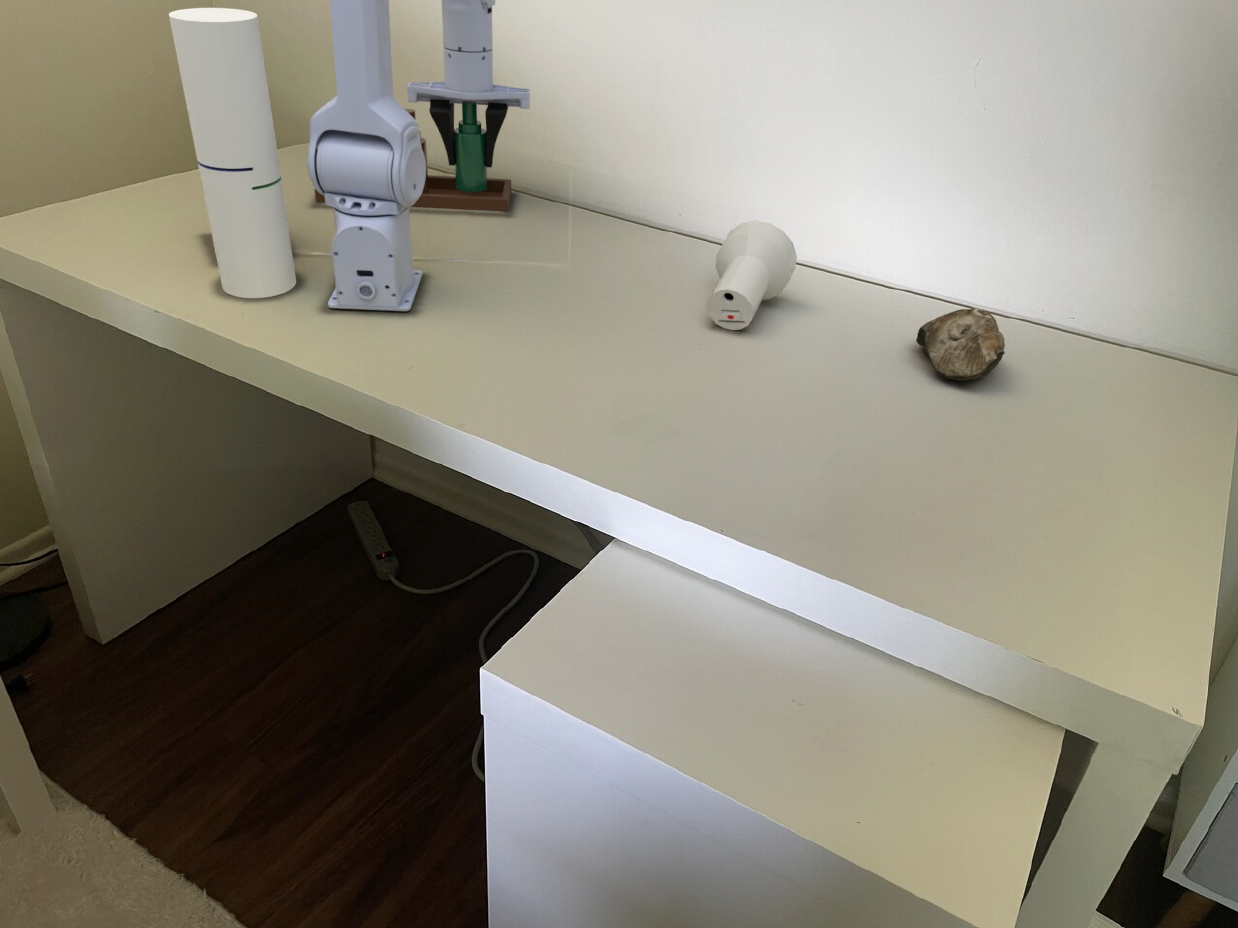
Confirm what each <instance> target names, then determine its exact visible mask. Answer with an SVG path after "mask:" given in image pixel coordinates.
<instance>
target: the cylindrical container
mask: <svg viewBox="0 0 1238 928" xmlns="http://www.w3.org/2000/svg"><path fill="white" fill-rule="evenodd" d="M168 18H169V24H170V28H171V34H172V37H173V38H172V39H173V43H174V50H175V53H176V58H177V64H178V69H179V75H180V81H181V84H182V89H183V90H182V91H183V94H184V100H185V104H186V109H187V114H188V115H187V116H188V120H189V126H190V131H191V135H192V140H193V146H194V151H195V155H196V160H197V165H198V170H199V171H198V172H199V176H200V181H201V186H202V192H203V196H204V197H203V198H204V201H205V206H206V207H205V208H206V211H207V217H208V220H209V221H208V222H209V227H210V232H211V237H212V242H213V247H214V248H215V251H214V253H216V254H215V257H216V263H217V268H218V272H219V273H218V274H219V277H220V283H221V289H222V290H223V291H224V292H225V293H226V294H228V295H230V296H233V297H236V298H243V299H264V298H271V297H276V296H279V295H282V294H285V293H287V292H289V291H291V290H292V289H293V288H294V287H295V286H296V284H297V276H296V270H295V264H294V256H293V250H292V243H291V236H290V230H289V229H290V228H289V223H288V222H289V221H288V216H287V208H286V202H285V201H286V200H285V196H284V188H283V181H282V175H281V168H280V160H279V154H278V148H277V146H278V145H277V139H276V134H275V126H274V120H273V113H272V107H271V100H270V99H271V98H270V93H269V86H268V85H269V84H268V81H267V80H268V79H267V73H266V66H265V65H266V64H265V57H264V51H263V46H262V45H263V44H262V38H261V32H260V31H261V30H260V23H259V17H258V14H257V13H256V12H253V11H250V10H246V9H245V10H244V9H239V8H230V7H229V8H227V7H194V8H183V9H178V10H177V9H176V10H173V11H171V12H169V13H168Z"/></svg>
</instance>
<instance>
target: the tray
mask: <svg viewBox="0 0 1238 928" xmlns="http://www.w3.org/2000/svg"><path fill="white" fill-rule="evenodd" d="M428 183H429V194H426V193H422V194H421V196H420V197H419V199H418V200H417V201H416V202H415V204H413V205H412V206H410V207H409V208H421V209H422V208H423V209H424V208H426V209H442V210H443V209H445V210H466V211H485V212H504V213H505V212H507V213H508V212H509V207H510V202H511V196H512V179H506V178H490V177H489V178H488V177H487V189H486V190H483V191H479V192H466V191H461V190H459V189H457V188H456V178H455V176H452V175H451V176H450V175H449V176H448V175H431V174H428ZM314 197H315V202H316V203H321V204H322V203H323V204H324V203H325V195H322V194H320V193H319V192H318V191H317V190H316V189H315V188H314ZM325 204H326V203H325Z"/></svg>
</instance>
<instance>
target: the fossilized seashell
mask: <svg viewBox="0 0 1238 928" xmlns="http://www.w3.org/2000/svg"><path fill="white" fill-rule="evenodd" d="M999 329H1000V328H999V326H998V322H997V320H996V318H995V317H994V316H993V315H992V314H991V313H990V312H988V311H986V310H984V309H980V308H962V309H961V308H960V309H957V310H954V311H951V312H948V313H946V314H943V315H941V316H938V317H936V318H935V319H932V320H930V321H927V322H926V323H924V324H923V325H921V326H920V327H919V329H918V331H917V336H916V339H915V342H916V343H917V344H918V345H919V346H920V347H922V348H924V349H925V351H926V354H927V357H928V359H929V361H930V363H931V365H932V368H933V369H934V371H935V372H936V373H937V375H939V376H941V377H943V378H944V379H948V380H950V379H951V380H956V381H962V382H963V381H974V380H978V379H980V378H983V377H986V376H987V375H989V373H991V372H992V371H993V370H995V369H996V367H997V366H998V365H999V363H1000V362H1001V361H1002V359H1003V356H1004V355H1005V354H1006V352H1005V346H1006V344H1005V337H1004V335H1003V333H1002V332H1001V331H1000V330H999Z"/></svg>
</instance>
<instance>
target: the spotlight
mask: <svg viewBox="0 0 1238 928" xmlns="http://www.w3.org/2000/svg"><path fill="white" fill-rule="evenodd" d="M797 255H798V254H797V252H796V248H795V245H794V242H793V241H792V240H791V238H790V237H789V236H788V234H786V231H784V230H782V229H781V228H780V227H778V226H776V225H775V224H773V223H771V222H766V221H761V220H750V221H745V222H741V223H740V224H738V225H736V226H735V227H734V228H732V229H730V230H729V233H728V234H727V235H726V237H725V239H724V241H723V242H722V245H721V246H720V247H719V250H718V251H717V253H716V257H715V269H716V272H717V275H718V278H719V281H718V282H717V284H716V286H715V288H714V290H713V291H712V293H711V295H710V297H708V300H707V306H706V309H707V312H708V315H709V317H710V319H711V320H712V321H713V322H714V323H715V324H716V325H717V326H719V327H721V328H722V329H724V330H725V329H726V330H731V331H737V330H738V331H739V330H742V329H744V328H746V327H748V326H749V325H750V323H751V322H752V320H753V319H754V317H755V315H756V313H757V311H758V309H759V307H760V305H761V303H762V301H769V300H772V299H774V298H775V297H777V296H778V295H780V294H782V293H783V291H784V290H785V288H787V285H788V284H789V283H790V280H791V278H792V277H793V274H794V272H795V270H796V266H797V265H796V264H797V258H798V256H797Z"/></svg>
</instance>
